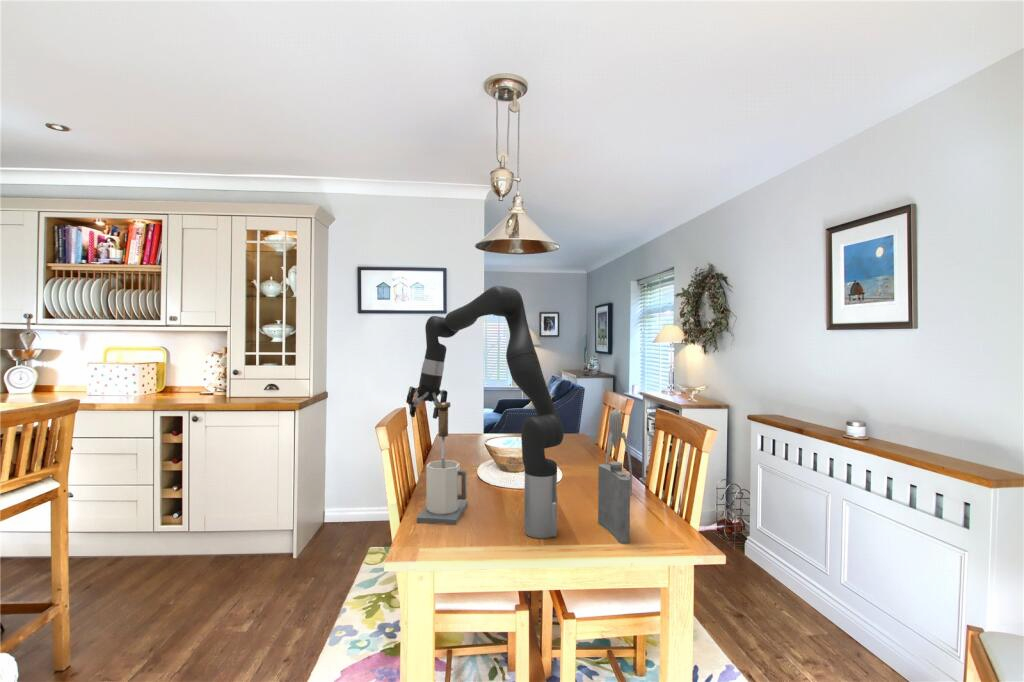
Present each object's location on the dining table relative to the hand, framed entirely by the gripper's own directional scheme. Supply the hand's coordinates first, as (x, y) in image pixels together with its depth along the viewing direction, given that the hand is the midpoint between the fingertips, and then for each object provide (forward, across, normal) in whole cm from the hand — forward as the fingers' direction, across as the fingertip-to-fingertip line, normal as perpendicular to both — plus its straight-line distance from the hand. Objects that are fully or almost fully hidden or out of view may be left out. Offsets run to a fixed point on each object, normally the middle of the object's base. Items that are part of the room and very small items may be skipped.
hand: (423, 417), depth 178 cm
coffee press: (+24, 0, -26) cm, 35 cm away
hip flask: (+15, +35, -64) cm, 75 cm away
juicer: (+13, +59, -42) cm, 74 cm away
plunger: (+12, -2, -25) cm, 28 cm away
